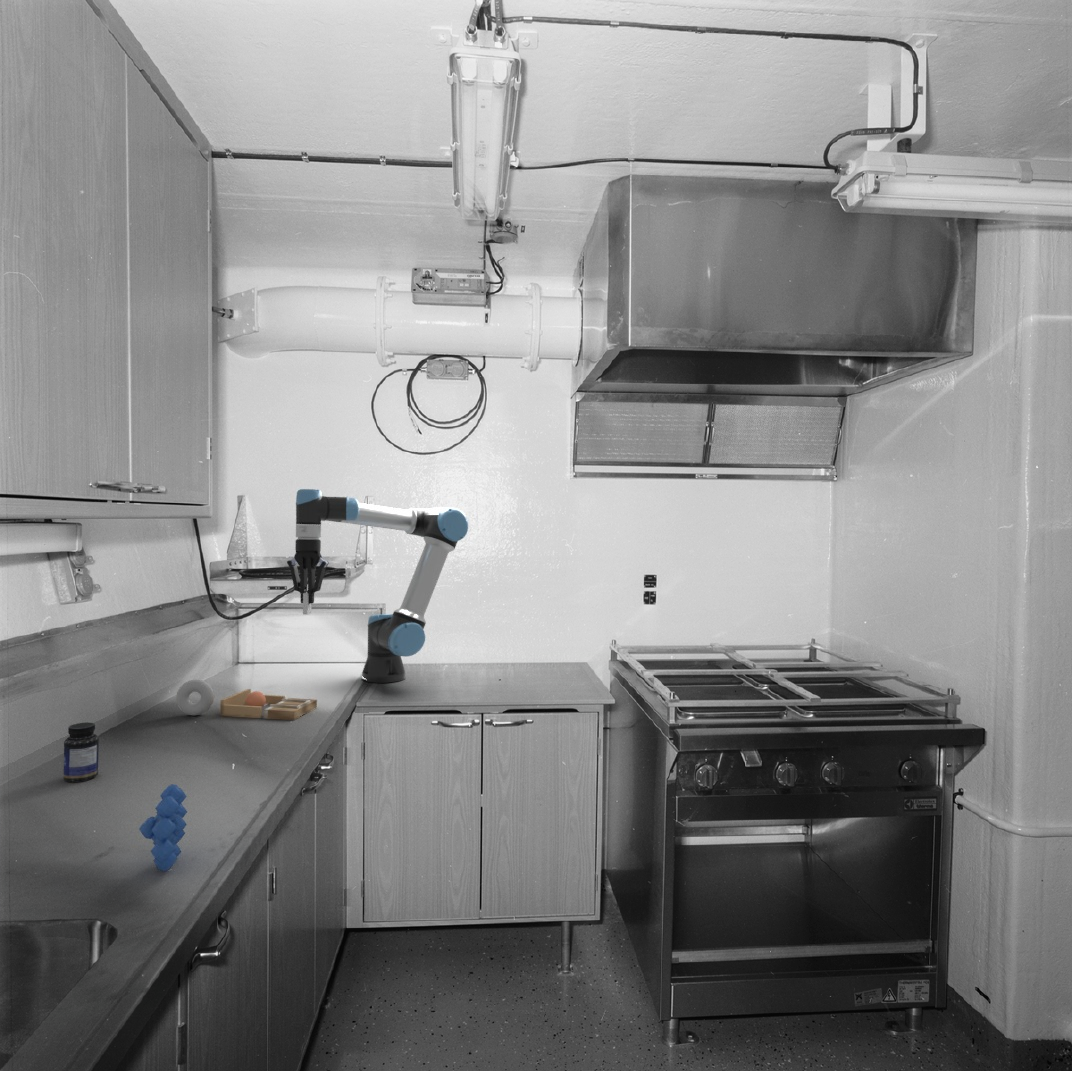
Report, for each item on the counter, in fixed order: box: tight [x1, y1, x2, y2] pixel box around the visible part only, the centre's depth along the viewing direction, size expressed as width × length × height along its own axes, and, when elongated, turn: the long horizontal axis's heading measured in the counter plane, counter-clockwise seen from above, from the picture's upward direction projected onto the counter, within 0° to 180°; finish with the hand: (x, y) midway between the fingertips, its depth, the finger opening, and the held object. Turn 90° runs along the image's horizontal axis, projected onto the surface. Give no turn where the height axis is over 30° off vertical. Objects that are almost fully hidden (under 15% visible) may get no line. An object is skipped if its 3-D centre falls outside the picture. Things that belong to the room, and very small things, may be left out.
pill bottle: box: [63, 721, 100, 783], centre depth 146 cm, size 6×6×11 cm
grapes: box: [139, 783, 188, 872], centre depth 110 cm, size 12×7×12 cm, turn 16°
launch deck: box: [263, 697, 318, 721], centre depth 200 cm, size 14×9×3 cm, turn 172°
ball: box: [246, 690, 266, 708], centre depth 200 cm, size 5×5×5 cm
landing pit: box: [219, 688, 286, 719], centre depth 201 cm, size 14×13×4 cm
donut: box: [175, 679, 215, 716], centre depth 195 cm, size 10×4×10 cm, turn 98°
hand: (307, 613), depth 218 cm, fingers closed
